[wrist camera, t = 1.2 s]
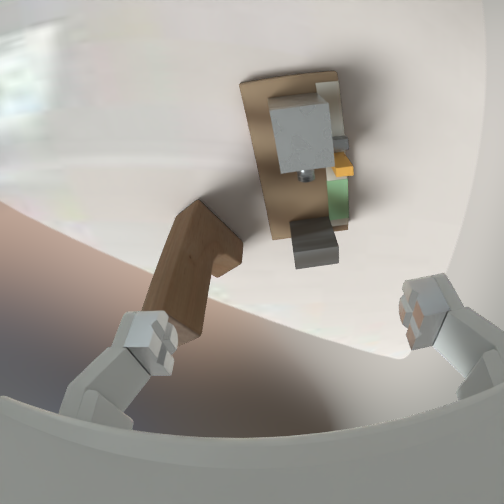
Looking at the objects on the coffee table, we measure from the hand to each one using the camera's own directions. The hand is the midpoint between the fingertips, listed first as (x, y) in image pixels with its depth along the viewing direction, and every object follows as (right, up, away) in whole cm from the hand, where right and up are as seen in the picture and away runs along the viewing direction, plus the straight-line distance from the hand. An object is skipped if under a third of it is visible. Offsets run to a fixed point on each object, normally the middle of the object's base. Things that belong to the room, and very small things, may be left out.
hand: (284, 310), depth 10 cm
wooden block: (-7, +5, +30) cm, 32 cm away
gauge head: (+5, +15, +20) cm, 25 cm away
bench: (+5, +13, +23) cm, 27 cm away
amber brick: (+8, +12, +21) cm, 26 cm away
